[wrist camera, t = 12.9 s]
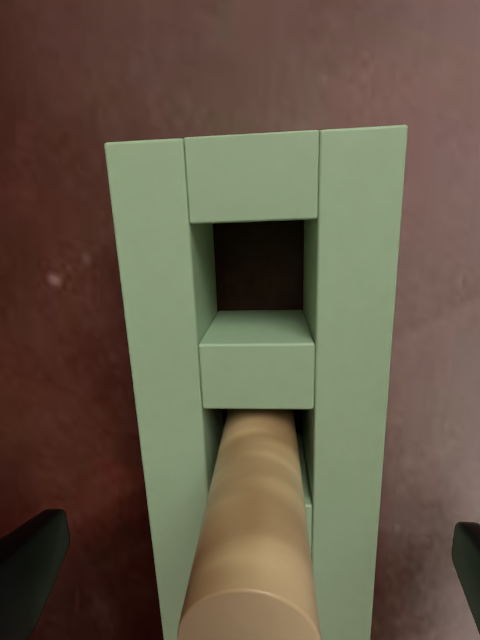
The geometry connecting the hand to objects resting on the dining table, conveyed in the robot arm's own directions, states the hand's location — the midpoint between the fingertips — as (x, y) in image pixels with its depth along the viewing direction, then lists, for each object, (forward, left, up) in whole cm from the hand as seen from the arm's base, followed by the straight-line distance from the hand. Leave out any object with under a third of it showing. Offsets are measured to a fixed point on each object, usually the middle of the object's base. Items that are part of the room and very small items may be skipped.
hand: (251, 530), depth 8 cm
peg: (0, 0, -6) cm, 7 cm away
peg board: (0, 0, -6) cm, 7 cm away
